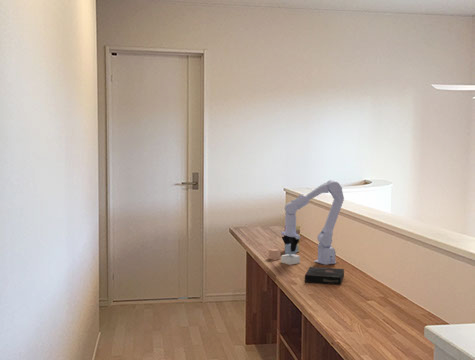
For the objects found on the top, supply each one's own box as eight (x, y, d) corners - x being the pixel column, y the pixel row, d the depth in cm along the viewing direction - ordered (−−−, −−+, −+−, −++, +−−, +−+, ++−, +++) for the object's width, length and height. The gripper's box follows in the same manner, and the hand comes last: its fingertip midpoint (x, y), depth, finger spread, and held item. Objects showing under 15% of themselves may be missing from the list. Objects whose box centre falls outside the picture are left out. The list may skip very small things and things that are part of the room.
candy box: (300, 251, 328) (300, 225, 327) (295, 252, 326) (295, 226, 324) (289, 249, 335) (289, 224, 334) (284, 250, 333) (284, 224, 331)
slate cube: (296, 253, 301) (296, 244, 300) (289, 254, 298) (289, 245, 298) (291, 252, 304) (291, 243, 304) (284, 253, 302) (284, 244, 302)
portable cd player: (343, 276, 274) (343, 268, 273) (340, 286, 257) (340, 277, 257) (310, 274, 278) (310, 266, 278) (304, 283, 262) (304, 275, 261)
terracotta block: (280, 258, 311) (280, 249, 311) (275, 260, 308) (275, 251, 307) (274, 257, 314) (274, 248, 314) (268, 258, 311) (268, 249, 310)
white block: (299, 263, 301) (299, 255, 301) (290, 265, 297) (290, 257, 296) (290, 260, 307) (290, 253, 306) (281, 262, 302) (281, 255, 302)
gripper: (276, 223, 304) (276, 248, 305) (292, 227, 292) (292, 253, 293) (287, 222, 308) (287, 247, 309) (303, 226, 295) (303, 252, 296)
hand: (290, 250), depth 301 cm, fingers closed on slate cube, 4 cm apart
